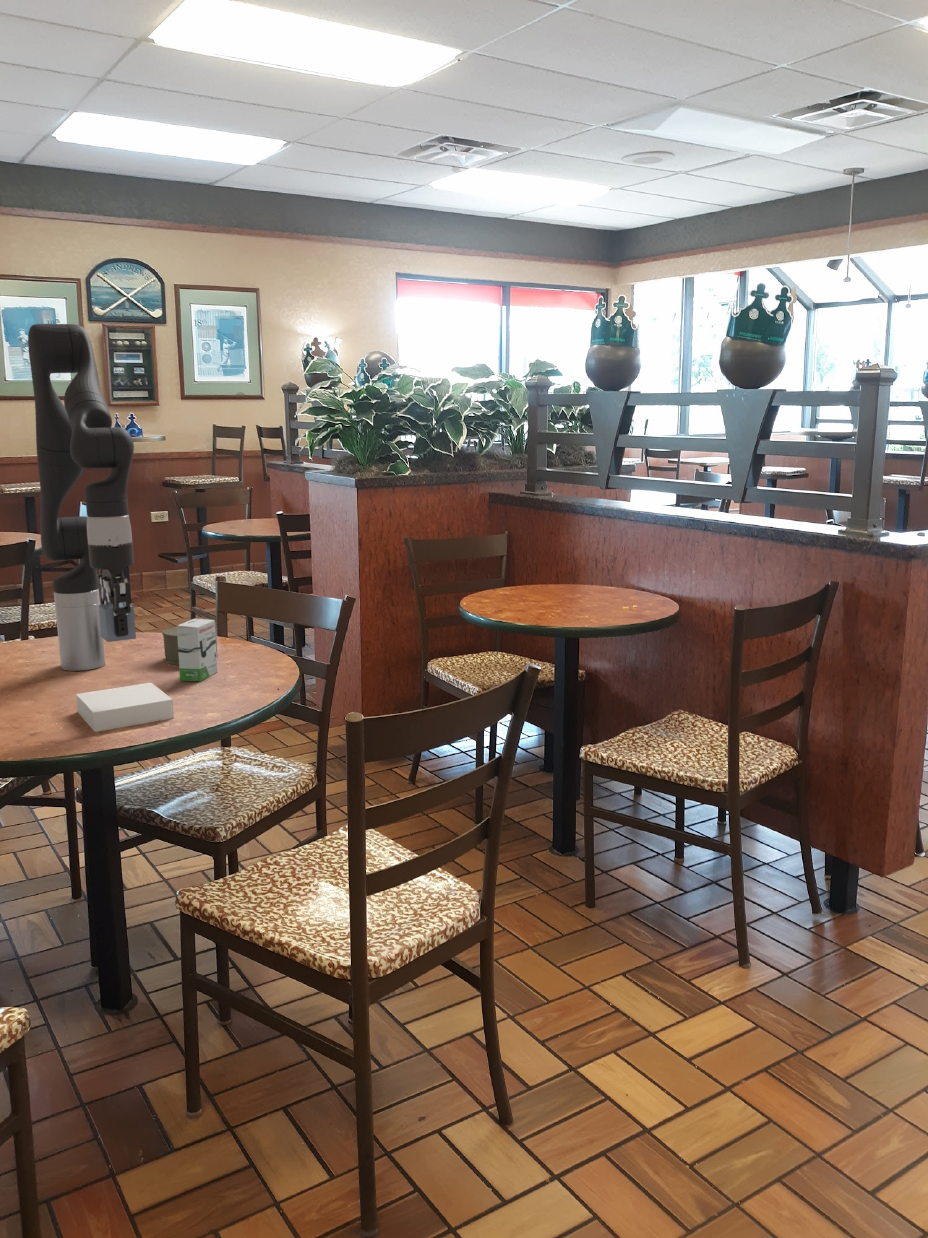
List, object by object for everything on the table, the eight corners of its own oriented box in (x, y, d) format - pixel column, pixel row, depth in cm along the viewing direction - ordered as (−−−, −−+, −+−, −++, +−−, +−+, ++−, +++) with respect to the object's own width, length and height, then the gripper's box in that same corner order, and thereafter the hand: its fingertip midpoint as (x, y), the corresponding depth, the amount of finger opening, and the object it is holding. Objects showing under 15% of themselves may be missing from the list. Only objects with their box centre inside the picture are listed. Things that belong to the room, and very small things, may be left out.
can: (162, 667, 214) (160, 637, 213) (166, 654, 226) (164, 625, 224) (218, 663, 217) (216, 633, 215) (219, 651, 228) (217, 622, 227)
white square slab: (77, 714, 182) (75, 694, 181) (152, 702, 190) (151, 682, 189) (95, 734, 171) (93, 712, 170) (174, 720, 178) (172, 699, 177)
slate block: (101, 637, 178) (98, 605, 177) (129, 633, 180) (126, 602, 179) (107, 642, 174) (104, 609, 172) (136, 638, 176) (133, 606, 175)
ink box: (200, 682, 202) (196, 626, 199) (178, 681, 203) (174, 626, 200) (219, 671, 210) (215, 618, 207) (198, 670, 211) (194, 617, 208)
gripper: (79, 538, 177) (88, 628, 181) (97, 546, 165) (105, 643, 169) (121, 535, 181) (129, 623, 185) (141, 543, 169) (149, 637, 173)
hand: (118, 632), depth 177 cm, fingers closed on slate block, 5 cm apart
